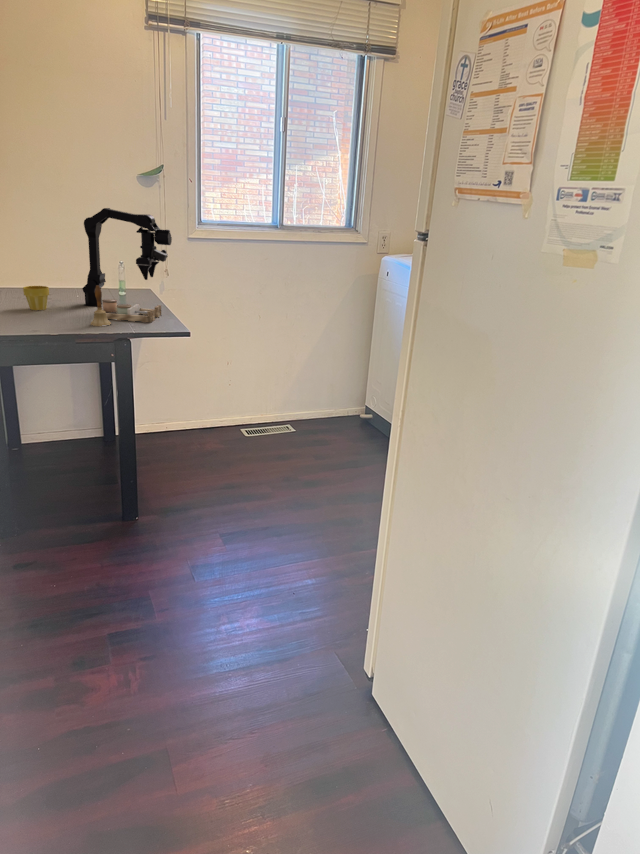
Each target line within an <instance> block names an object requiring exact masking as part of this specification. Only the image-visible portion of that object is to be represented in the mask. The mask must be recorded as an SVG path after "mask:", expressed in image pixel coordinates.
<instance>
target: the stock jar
mask: <svg viewBox="0 0 640 854" xmlns="http://www.w3.org/2000/svg"><path fill="white" fill-rule="evenodd" d="M130 307H132V304H126V303H124V304H123V303H120V304H117V313H116V314H126V315H128V313H127V309H129V308H130Z"/></svg>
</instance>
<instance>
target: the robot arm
mask: <svg viewBox="0 0 640 854" xmlns="http://www.w3.org/2000/svg"><path fill="white" fill-rule="evenodd" d="M108 219H113V220H117V221H118V220H119V221H123V222H127V223H131V224H134V225H136V226H138V227H139V228H138V229H137V230H136V232H135V233H138V234H141V235H140V236H141V237H140V238H141V240H140V241H141V245H140V246H139V248H140V249H141V254H140V257H137V258H136V259H135V264H136V266H137V267H138V269H139V271H140V273H141V275H142V276H143V279H144V280H145V281H147V280H148V278H149V277H150V278H153V277H154V273H155V269H156V267H157V265H158V264H159V263H160V262H162V263H164V262H166V260H167V259H168V256H169V255H168V253H167V250H166V249H161V250H159V249H157V246H156V245H155V243H156V244H157V245H159V246H171V245H172V240H173V238H172V234H171V230H170V229H161V228H160V227H159V225H158V224H157V223H156V219H155V217H154V216H153V215H151V214H146V213H145V214H137V213H131V212H126V211H121V210H116V209H112V208H110V207H104V208H102V209H101V210H100V211H98V212H97V213H95V214H93V215H92V216H91V217H85V219H84V221H83V228H84V231H85V234H86V236H87V238H88V242H87V243H88V254H89V255H88V258H89V272H88V275H87V280H86V284H85V285H84V286H83V287H82V288H81V289H82V291H83V293H84V301H85V303H84V304H83V305H84V306H88V307H97V299H96V297H95V289H96V285H99V286H100V289H102V288H103V287H104V286H105V283H106V273H104V272H103V273H102V270H101V256H100V255H101V254H100V253H101V252H100V236H101V233H102V227H103V224H104V223H106V222H107V221H108ZM102 300H103V299H102V298H101V305H103V302H102Z"/></svg>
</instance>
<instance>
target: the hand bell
mask: <svg viewBox="0 0 640 854" xmlns="http://www.w3.org/2000/svg"><path fill="white" fill-rule="evenodd" d="M101 289H102V288H101ZM101 289H100V286H99V285H96V289H95V297H96V299H97V306H96V307H97V309H96V310H95V311H94V313H93V319H92V321H91V322H90V326H92V325H93V326H92V327H100V326H101V327H103V326H102V325H109V326H111V325H112V322H111V321H110V320H108V319H107V316H106V313H107V312H105V311H103V305H102V304H101V298H102V295H103V294H102V290H101ZM110 324H111V325H110Z"/></svg>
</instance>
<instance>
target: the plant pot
mask: <svg viewBox="0 0 640 854" xmlns="http://www.w3.org/2000/svg"><path fill="white" fill-rule="evenodd" d="M22 289H23V290H22V292H23V296H25V297H26V301H27V304H28V307H29V309H30V310H31V311H37V310H39V311H46V310H47V307H48V296H50V289H49V286H46V285H27V286H26V285H25V286H23V288H22Z"/></svg>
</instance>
